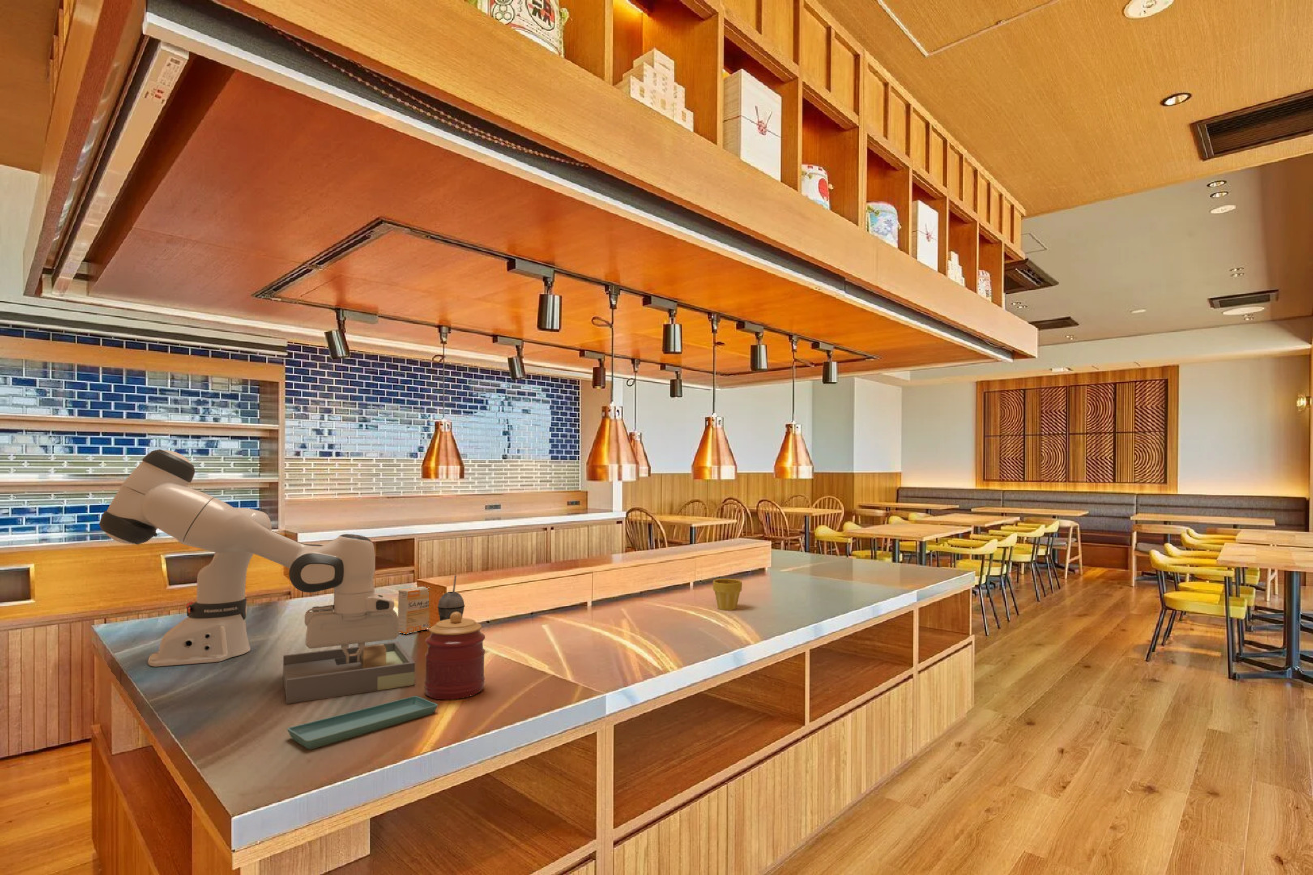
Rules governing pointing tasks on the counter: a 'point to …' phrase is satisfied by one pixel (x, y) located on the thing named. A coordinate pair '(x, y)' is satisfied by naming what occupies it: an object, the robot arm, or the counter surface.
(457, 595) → the beverage cup
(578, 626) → the counter surface
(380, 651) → the birch block
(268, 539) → the robot arm
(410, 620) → the supplement box
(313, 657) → the trap board
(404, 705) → the rectangular tray
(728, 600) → the plant pot
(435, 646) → the canister
